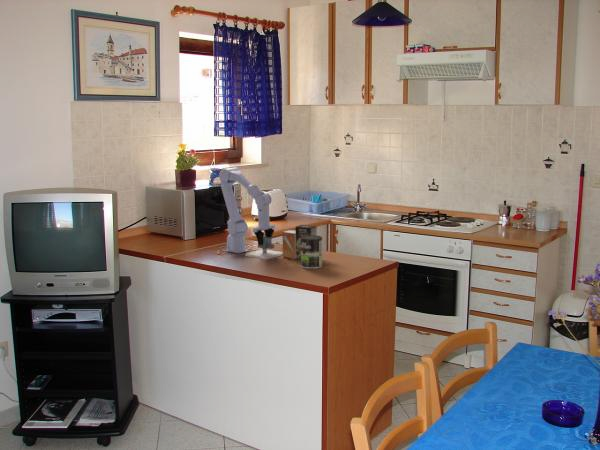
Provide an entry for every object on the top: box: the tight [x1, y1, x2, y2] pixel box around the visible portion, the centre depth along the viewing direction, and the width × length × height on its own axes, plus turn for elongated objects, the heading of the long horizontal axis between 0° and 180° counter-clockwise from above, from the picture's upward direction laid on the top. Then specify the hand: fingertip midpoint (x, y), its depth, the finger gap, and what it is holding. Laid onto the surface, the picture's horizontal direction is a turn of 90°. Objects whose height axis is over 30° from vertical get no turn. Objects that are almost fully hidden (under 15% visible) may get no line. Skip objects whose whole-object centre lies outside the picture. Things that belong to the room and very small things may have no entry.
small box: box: [282, 229, 297, 260], centre depth 347 cm, size 8×6×13 cm
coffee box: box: [295, 224, 318, 260], centre depth 343 cm, size 9×6×16 cm
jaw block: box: [257, 235, 275, 250], centre depth 351 cm, size 8×5×5 cm, turn 50°
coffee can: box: [300, 235, 323, 270], centre depth 326 cm, size 10×10×14 cm
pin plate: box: [244, 248, 283, 260], centre depth 352 cm, size 14×14×5 cm
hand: (264, 244), depth 352 cm, fingers closed on jaw block, 5 cm apart
